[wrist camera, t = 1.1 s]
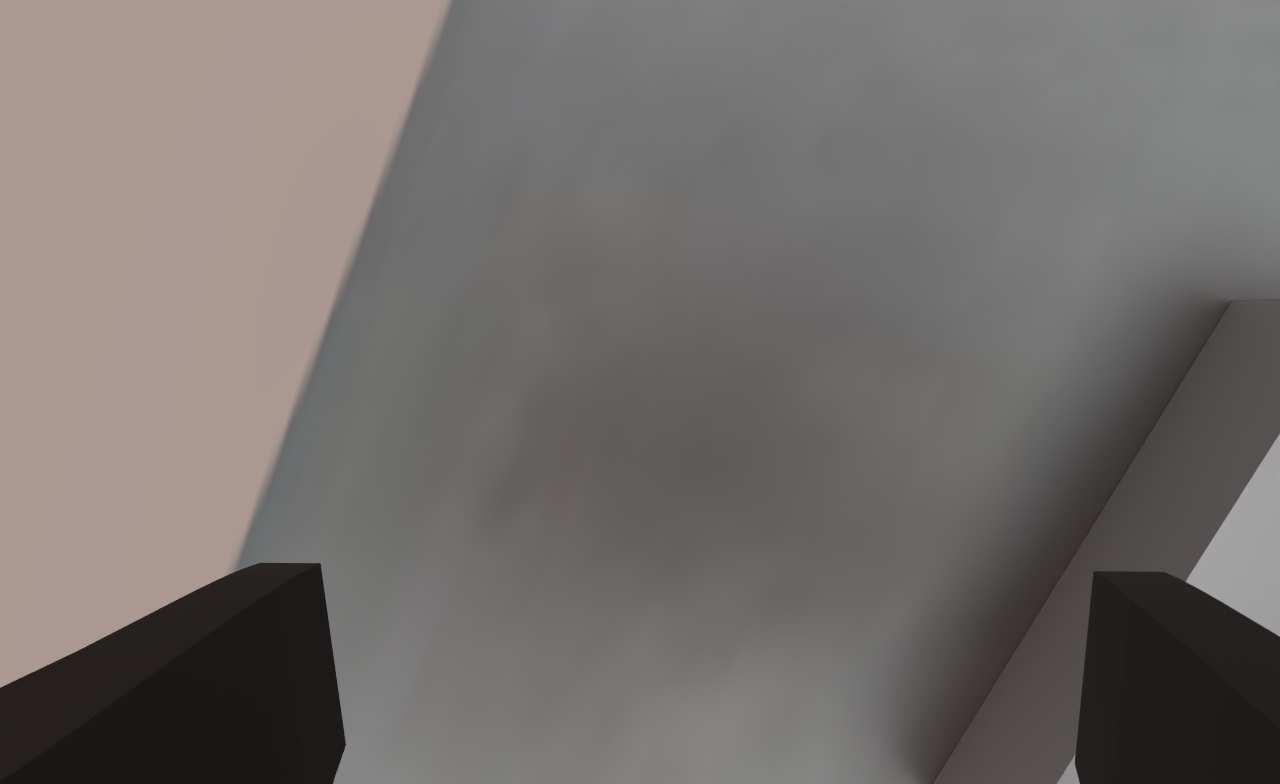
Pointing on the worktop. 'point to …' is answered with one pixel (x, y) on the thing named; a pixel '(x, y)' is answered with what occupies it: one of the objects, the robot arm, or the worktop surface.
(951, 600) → the worktop surface
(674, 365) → the worktop surface
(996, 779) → the grey rectangular block
